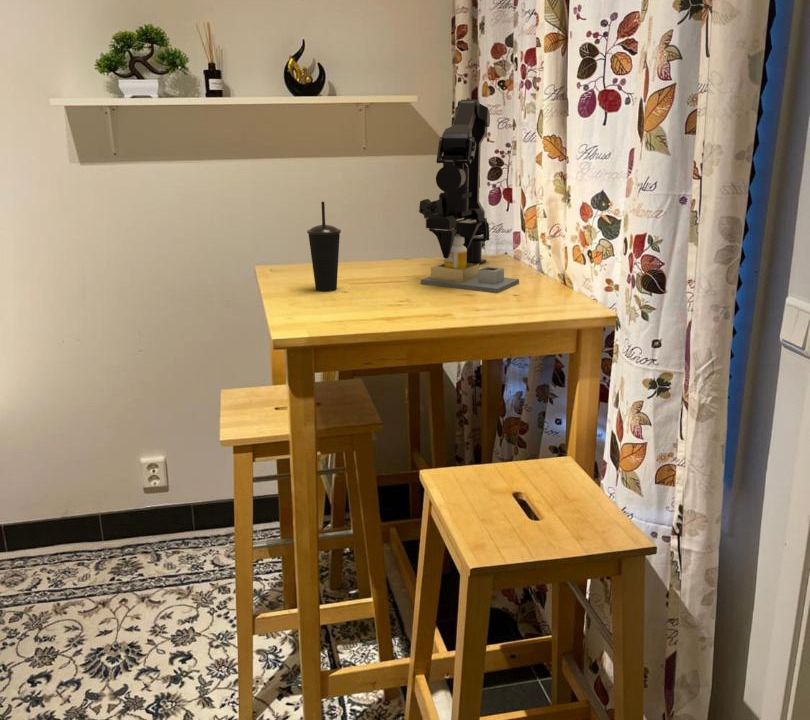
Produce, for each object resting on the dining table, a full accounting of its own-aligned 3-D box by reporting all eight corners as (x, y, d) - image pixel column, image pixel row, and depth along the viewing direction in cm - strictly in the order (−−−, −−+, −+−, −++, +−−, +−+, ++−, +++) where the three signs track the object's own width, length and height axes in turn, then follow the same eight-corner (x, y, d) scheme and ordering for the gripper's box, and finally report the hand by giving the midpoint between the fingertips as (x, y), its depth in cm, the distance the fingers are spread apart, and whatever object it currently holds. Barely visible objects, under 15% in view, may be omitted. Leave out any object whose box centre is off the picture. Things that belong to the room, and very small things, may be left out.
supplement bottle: (443, 279, 187) (444, 239, 184) (444, 275, 192) (444, 235, 189) (466, 279, 186) (467, 239, 183) (466, 275, 191) (467, 235, 188)
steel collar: (486, 279, 187) (486, 266, 186) (503, 281, 185) (504, 268, 184) (478, 282, 183) (478, 269, 182) (495, 284, 181) (496, 271, 180)
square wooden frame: (447, 272, 194) (448, 260, 193) (478, 276, 190) (479, 264, 189) (430, 279, 187) (430, 266, 186) (462, 282, 183) (462, 270, 182)
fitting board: (445, 274, 197) (445, 271, 197) (519, 283, 187) (519, 279, 187) (420, 283, 187) (420, 279, 187) (497, 293, 177) (497, 288, 177)
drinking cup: (322, 294, 177) (318, 204, 171) (303, 289, 183) (298, 201, 176) (349, 289, 182) (346, 201, 176) (329, 284, 187) (326, 199, 181)
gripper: (445, 183, 194) (444, 246, 199) (405, 190, 179) (405, 258, 183) (485, 185, 188) (484, 250, 193) (448, 192, 173) (447, 262, 178)
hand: (455, 255), depth 187 cm, fingers open, 9 cm apart
